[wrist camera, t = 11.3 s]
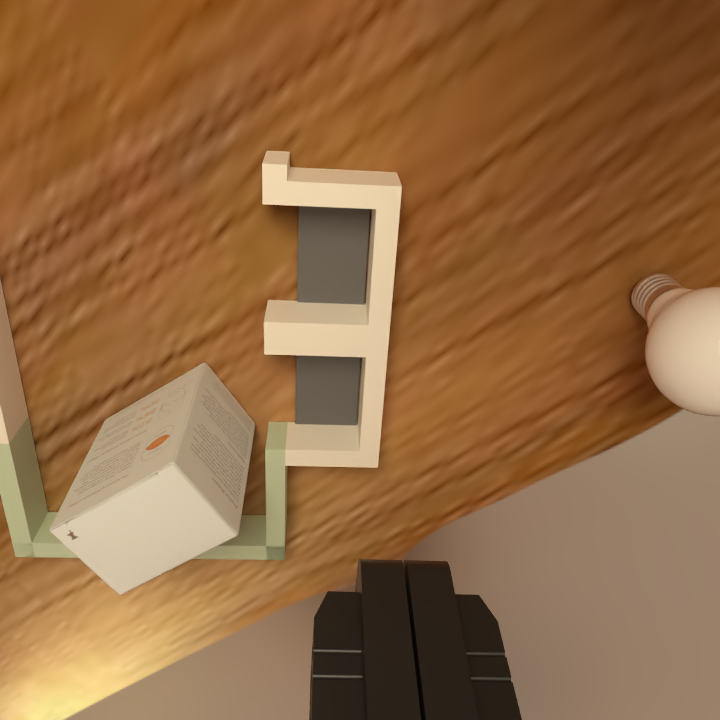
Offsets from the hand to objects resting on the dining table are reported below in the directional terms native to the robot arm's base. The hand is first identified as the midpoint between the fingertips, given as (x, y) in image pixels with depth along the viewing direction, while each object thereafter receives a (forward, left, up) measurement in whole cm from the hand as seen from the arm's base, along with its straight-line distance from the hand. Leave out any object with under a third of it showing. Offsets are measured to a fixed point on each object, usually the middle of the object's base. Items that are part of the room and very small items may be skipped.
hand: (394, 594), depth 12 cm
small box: (+16, -10, -29) cm, 34 cm away
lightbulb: (+6, +18, -29) cm, 35 cm away
